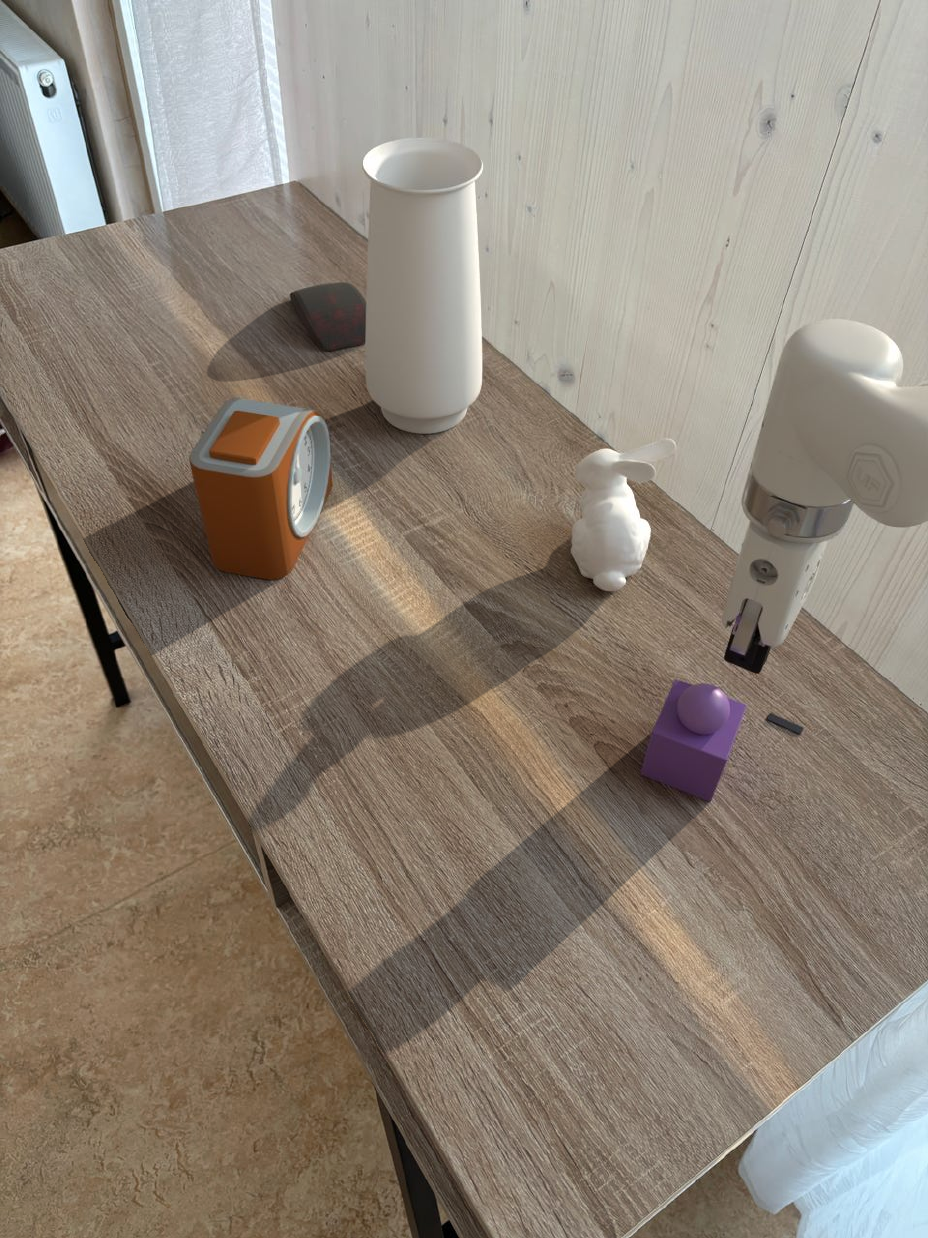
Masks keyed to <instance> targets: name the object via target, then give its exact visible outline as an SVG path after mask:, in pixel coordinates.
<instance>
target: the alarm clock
mask: <svg viewBox="0 0 928 1238" xmlns="http://www.w3.org/2000/svg"><path fill="white" fill-rule="evenodd" d="M330 441H331V439H330V433H329V429H328V426H327V424H326V420H325V418H324V416H323V414H322V413H321V412H320V411H319V410H316V409H311V408H305V407H298V406H291V405H286V404H285V405H284V404H278V403H272V402H266V401H260V400H253V399H248V398H247V399H246V398H240V397H231V398H229V399H228V400H226V401H225V402H224V403H223V404H222V405H221V407H219V409H218V410H217V411H216V413H215V414H214V416H213V417H212V419H211V421H210V422H209V424H208V425H207V427H206V428H205V430H204V431H203V433H202V434H201V436H200V438H199V440H198V441H197V442H196V444H195V445H194V446H193V448H192V450H191V452H190V454H189V457H188V458H189V460H188V461H189V465H190V471H191V475H192V479H193V483H194V488H195V492H196V496H197V500H198V506H199V509H200V514H201V518H202V524H203V527H204V532H205V536H206V537H205V538H206V541H207V545H208V549H209V550H208V551H209V554H210V558H211V562H212V565H213V566H214V567H215V568H216V569H218V570H219V571H222V572H225V573H230V574H235V575H239V576H240V575H241V576H246V577H251V578H257V579H263V580H268V581H269V580H271V581H272V580H273V581H274V580H279V579H281V578H284V577H286V576H288V575H289V574H290V573H291V572H292V570H293V569H294V567H295V566H296V563H297V561H298V559H299V557H300V555H301V553H302V551H303V549H304V548H305V547H304V546H305V545H306V542H307V541H308V538H309V536H310V534H311V532H312V531H313V529H314V527H315V526H316V524H317V522H318V519H319V517H320V514H321V512H322V509H323V507H324V505H325V503H326V501H327V500H328V497H329V495H330V493H331V491H332V489H333V487H334V484H333V483H334V481H333V473H332V472H333V471H332V462H331V461H332V460H331V442H330Z"/></svg>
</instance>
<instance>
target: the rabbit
mask: <svg viewBox="0 0 928 1238" xmlns="http://www.w3.org/2000/svg"><path fill="white" fill-rule="evenodd" d="M676 453H677V444H676V442H675V441H674V440H673V439H671V438H667V437H665V438H662V439H659V440H657V441H654V442H652V443H648V444H646V445H642V446H640V447H637V448H634V449H632V450H629V451H626V452H624V453H623V452H622V453H620V452H619V451H616V450H613V449H610V448H600V449H598V450H595V451H593V452H591V453H589V454H587V455H586V456H585V457H583V458H582V459H581V460H580V461H579V462H578V463H577V464H576V466H575V475H574V476H575V480H576V482H577V483H579V484H581V485H583V486H586V487H585V489H584V490H583V491H582V494H581V497H580V499H579V505H580V506H579V511H580V517H581V518H579V519H578V520H576V521H575V522H574V523H573V525H572V527H571V531H572V532H571V540H570V542H571V548H570V554H571V555H572V557H573V560H574V561H575V563H576V565H577V567H578V570H579V572H580V575H582V577H584V578H588V579H592V580H593V581H592V583H593V585H595V586H596V587H597V588H598V589H600V590H602V591H605V592H617V591H620V590H621V589H622V588H624V586H625V585H626V584H627V580H626V578H629V577H632V576H634V575H635V574H636V573H637V572H638V571H639V570H640V569H641V568H642V565H643V562H644V559H645V557H646V554H647V551H648V547H649V544H650V543H649V542H650V540H651V533H652V530H651V526H650V524H649V522H648V521H647V520H646V519H643V518H642V517H641V515H640V511H639V509H638V507H637V502H636V499H635V495H634V492H633V490H632V488H631V487H630V485H629V484H627V481H628V480H630V481H631V482H634V483H647V482H649V481H651V480H653V479H654V478H655V477H656V474H657V471H656V468H655V467H654V466H653V464H651V463H653V462H659V461H663V460H667V459H670V458H672V457H673V456H674V455H675V454H676ZM627 479H628V480H627Z"/></svg>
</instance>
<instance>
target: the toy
mask: <svg viewBox="0 0 928 1238" xmlns="http://www.w3.org/2000/svg"><path fill="white" fill-rule="evenodd" d="M747 707H748V705H747V704H746V703H743V702H740V701H737V700H735V699H732V698H729V697H727V695H726V694H725V692H724V691H723V690H722V689H720V688H719V687H718V686H716V685H713V684H711V683H707V682H700V683H695V684H692V683H689V682H686V681H683V680H680V679H678V678H675V679H674V681H673V683H672V685H671V687H670V690H669V692H668V694H667V697H666V699H665V701H664V704H663V706H662V708H661V710H660V712H659V715H658V717H657V719H656V722H655V723H654V726H653V728H652V730H651V734H650V736H649V740H648V744H647V748H646V752H645V756H644V759H643V763H642V766H641V771H640V775H641V776H643V777H646V778H649V779H651V780H654V781H656V782H659V783H661V784H663V785H666V786H669V787H671V788H673V789H676V790H679V791H681V792H683V793H686V794H689V795H691V796H693V797H696V798H699V799H701V800H704V801H706V802H709V803H711V802H712V801H713V798H714V796H715V792H716V790H717V787H718V785H719V782H720V779H721V777H722V774H723V772H724V769H725V767H726V764H727V761H728V759H729V756H730V753H731V750H732V748H733V745H734V743H735V740H736V738H737V734H738V732H739V729H740V726H741V724H742V720H743V718H744V715H745V713H746V710H747Z"/></svg>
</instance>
